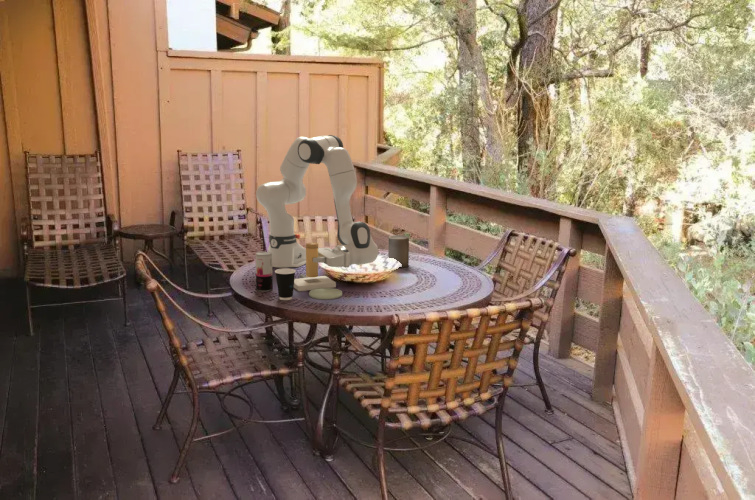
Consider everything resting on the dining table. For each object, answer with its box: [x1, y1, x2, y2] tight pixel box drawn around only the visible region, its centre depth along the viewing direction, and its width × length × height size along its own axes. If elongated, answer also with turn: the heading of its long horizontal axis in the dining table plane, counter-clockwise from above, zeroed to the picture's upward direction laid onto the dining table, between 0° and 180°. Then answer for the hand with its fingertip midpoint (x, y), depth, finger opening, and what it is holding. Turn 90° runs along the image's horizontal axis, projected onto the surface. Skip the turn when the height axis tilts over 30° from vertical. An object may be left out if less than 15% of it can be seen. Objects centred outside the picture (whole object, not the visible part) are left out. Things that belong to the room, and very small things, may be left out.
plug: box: [305, 242, 319, 277], centre depth 274 cm, size 5×5×14 cm
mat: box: [308, 287, 343, 300], centre depth 263 cm, size 13×13×1 cm
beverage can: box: [255, 251, 274, 293], centre depth 268 cm, size 6×7×15 cm
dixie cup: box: [274, 267, 297, 301], centre depth 256 cm, size 8×8×11 cm
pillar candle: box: [387, 234, 410, 269], centre depth 313 cm, size 10×10×15 cm
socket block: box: [293, 273, 337, 292], centre depth 280 cm, size 16×20×2 cm
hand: (309, 258), depth 274 cm, fingers closed on plug, 5 cm apart
